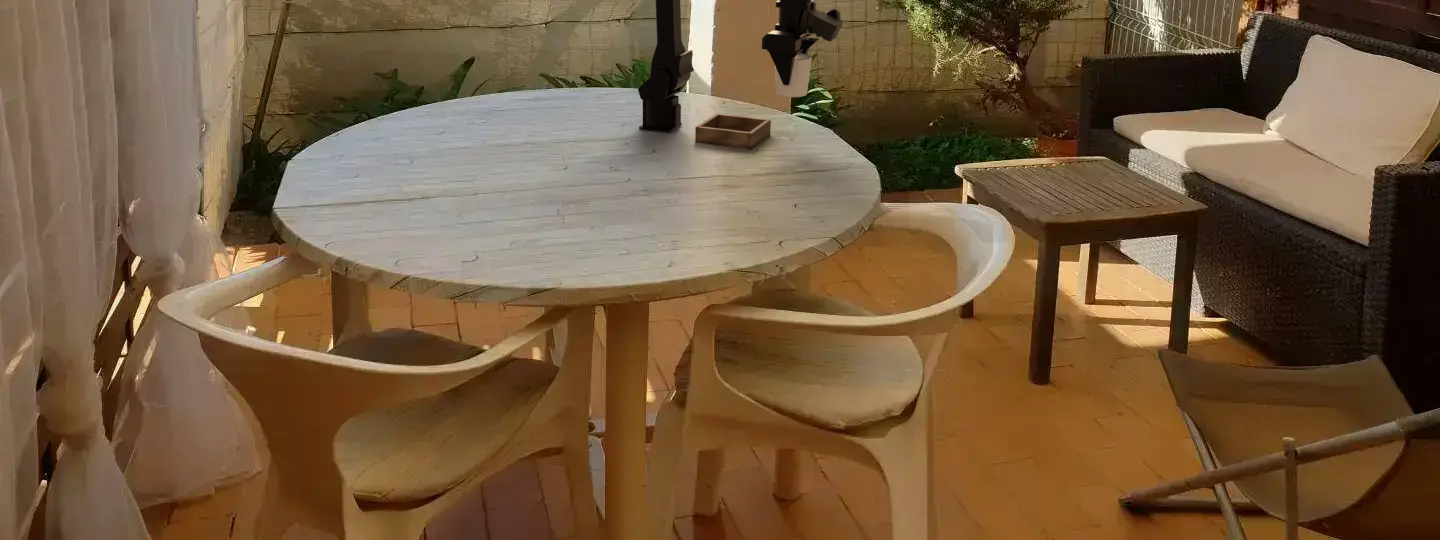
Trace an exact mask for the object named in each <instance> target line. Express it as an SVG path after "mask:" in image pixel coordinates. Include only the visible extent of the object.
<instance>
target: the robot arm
mask: <svg viewBox="0 0 1440 540" xmlns="http://www.w3.org/2000/svg"><path fill="white" fill-rule="evenodd" d="M816 5H817V3H816V1H815V0H777V1H775V8H778V23H776V24H775V25H774V30H771V31H770V32H767V33H766V34H765V35H764V36H763V37H762V38H761V50H766V51H767V52H768V53H769V55H770V58H771V59H772V62H773V63H774V67H775V66H776V69H777V71H778V73H779V76H780V78H781V81H782V83H783V85H787V86H788V85H789V84H790V80H791V75H792V70H793V65H794V59H795V57H796V56H797V55H798V54H799V53H803V54H808V55H809V51H810V49H811V48H812V47H813V46H814V45H815V44H816V43H818V41H819V40H820V39H819V38H822V39H823V40H824V41H827V42H833V40H836V39H837V37H838V35H839V32H840V30H841V29H842V27H843V21H844V20H843V19H841V11H840V10H838V9H836V8H832V9H830V10H829V11H828V12H827V13H826V11H820V10H818V9H816V8H817V6H816ZM681 10H682V9H681V0H655V18H656V20H655V22H656V24H655V25H656V26H655V27H656V46H655V49H654V52H653V55H652V57H651V62H650V71H649V78H647V80H645V81H644V82H643V83H642V84H641V85H640V86H639V87H638V89H637V92H638V95H639V97H640V100H642V124H640V125H639V126H638V129H639V130H644V131H653V132H662V133H671V132H673V131H675V130H676V129H678V128H680V127H682V126H683V125H682V124H683V123H682V105H681V103H680V102H679V101H680V100H679V99H680V98H679V97H680V96H679V95H676V94H680V92H681V91H682V88H683V86H684V85H685V84H687V82H689V81H690V78H691V73H692V72H694V71H695V69H694V66H693V55H694V53H693V50H692V49H691V50H690V49H689V50H686V48H685V46H684V44H683V40H682V19H681V18H682V13H681V12H682V11H681ZM814 34H815V36H816V37H817V38H815V37H813V35H814Z"/></svg>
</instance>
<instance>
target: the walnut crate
mask: <svg viewBox="0 0 1440 540" xmlns="http://www.w3.org/2000/svg"><path fill="white" fill-rule="evenodd" d="M771 125H772V119H767V118H759V117H750V116H742V115H734V114H733V115H732V114H725V113H715V114H713V115H711V116H710V117H709V118H707V119H706V120H704V121H703V122H700V123H699V124H698V125H696V126H695V128H694V129H695V131H694V132H695V133H694V135H695V138H694V139H695V140H694V143H696V144H702V145H711V144H712V145H713V146H719V147H727V148H729V147H730V148H736V149H746V150H753V149H754V148H755V147H757V146H758V145H760V144H761V143H762V142H763V141H764V140H766V139H767V138H768V137H770V136H771V127H772V126H771Z"/></svg>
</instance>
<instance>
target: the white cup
mask: <svg viewBox="0 0 1440 540" xmlns="http://www.w3.org/2000/svg"><path fill="white" fill-rule="evenodd" d="M812 59H813V56H812V55H810V54H809V53H808V54H803V53H799V54H798V55H797V56H796V57H795V59H794V65H793V70H792V75H791V80H790V84H789V85H788V86H787V85H783V83H782V81H781V78H780V76H779V73H778V71H777V69H776V66H775V65H774V73H775V75H774V76H775V92H776V95H778V96H780V97H785V98H800V97H805V96H807V94H808V88H809V81H810V76H811V75H810V74H811V69H812V68H811V67H812V61H813V60H812Z"/></svg>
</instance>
